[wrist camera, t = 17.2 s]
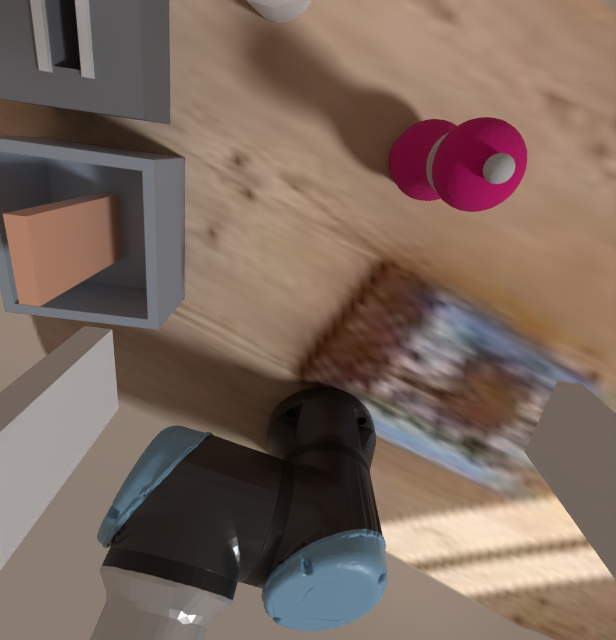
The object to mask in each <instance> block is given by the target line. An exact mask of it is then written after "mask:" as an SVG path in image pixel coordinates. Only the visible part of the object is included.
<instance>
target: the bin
mask: <svg viewBox="0 0 616 640" xmlns="http://www.w3.org/2000/svg"><path fill="white" fill-rule="evenodd" d="M102 192H106V193H114V194H119V201H120V218H121V234H122V250H123V258H122V259H120V260H118V261H116V262H115V263H113V264H111V265H110V266H108V267H106V268H105V269H103V270H101V271H99V272H98V273H96V274H94V275H93V276H91V277H89V278H87V279H86V280H84V281H82V282H81V283H79V284H77V285H76V286H74V287H72V288H70V289H69V290H67V291H65V292H64V293H62V294H60V295H59V296H57V297H55V298H53V299H52V300H50V301H48V302H47V303H45V304H43V305H42V306H32V305H24V304H19V300H18V295H17V289H16V284H15V278H14V273H13V267H12V262H11V256H10V251H9V245H8V240H7V234H6V229H5V223H4V218H3V213H8V212H13V211H18V210H22V209H27V208H32V207H36V206H41V205H46V204H51V203H55V202H60V201H65V200H69V199H74V198H79V197H83V196H88V195H93V194H98V193H102ZM184 251H185V158H183V157H176V156H168V155H161V154H154V153H147V152H140V151H133V150H126V149H119V148H112V147H105V146H97V145H90V144H83V143H76V142H69V141H62V140H55V139H48V138H41V137H20V136H0V288H1V293H2V298H3V303H4V308H5V312H12V313H20V314H28V315H37V316H45V317H54V318H62V319H71V320H79V321H88V322H96V323H105V324H113V325H122V326H130V327H139V328H147V329H156V330H158V329H159V328H160V327H161V326H162V325H163V323H164V322H165V321H166V320H167V319H168V317H169V316H170V315H171V314H172V313H173V311H174V310H175V309H176V308H177V307H178V305H179V304H180V303H181V302H182V301H183V299H184Z"/></svg>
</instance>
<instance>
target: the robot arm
mask: <svg viewBox="0 0 616 640" xmlns="http://www.w3.org/2000/svg"><path fill="white" fill-rule="evenodd" d="M117 410H118V396H117V383H116V371H115V358H114V346H113V333H112V329H107V328H98V327H90V326H84V327H82V328H81V329H80V330H79V331H77V332H76V333H75V334H74V335H72V336H71V337H70V338H69V339H67V340H66V341H65V342H64V343H62V344H61V345H60V346H58V347H57V348H56V349H55V350H53V351H52V352H51V353H50V354H48V355H47V356H46V357H45V358H43V359H42V360H41V361H39V362H38V363H37V364H36V365H35V366H33V367H32V368H31V369H29V370H28V371H27V372H26V373H24V374H23V375H22V376H21V377H19V378H18V379H17V380H16V381H14V382H13V383H12V384H10V385H9V386H8V387H7V388H5V389H4V390H3V391H2V392H0V570H1V569H2V567H3V566H4V565H5V563H6V562H7V560H8V559H9V558H10V556H11V555H12V554H13V552H14V551H15V550H16V548H17V547H18V545H19V544H20V543H21V541H22V540H23V539H24V537H25V536H26V535H27V533H28V532H29V530H30V529H31V528H32V526H33V525H34V524H35V522H36V521H37V520H38V518H39V516H40V515H41V514H42V513H43V511H44V510H45V508H46V507H47V506H48V504H49V503H50V502H51V500H52V499H53V498H54V496H55V495H56V494H57V492H58V491H59V489H60V488H61V487H62V485H63V484H64V483H65V481H66V480H67V478H68V477H69V476H70V474H71V473H72V472H73V470H74V469H75V468H76V466H77V465H78V463H79V462H80V461H81V459H82V458H83V457H84V455H85V454H86V452H87V451H88V450H89V448H90V447H91V445H92V444H93V443H94V441H95V440H96V439H97V437H98V436H99V435H100V433H101V432H102V431H103V429H104V428H105V426H106V425H107V424H108V422H109V421H110V420H111V418H112V417H113V415H114V414H115V413H116V411H117ZM375 445H376V433H375V428H374V424H373V420H372V417H371V415H370V413H369V411H368V410H367V408H366V407H365V406H364V405H363V404H362V403H361V402H360V401H359V400H358V399H356V398H355V397H353V396H352V395H350V394H348V393H345V392H342V391H339V390H335V389H329V388H314V389H308V390H304V391H301V392H298V393H296V394H293V395H292V396H290V397H288V398H287V399H285V400H284V401H283V402H282V403H281V404H280V405H279V406H278V407H277V408H276V409H275V411H274V412H273V414H272V416H271V418H270V421H269V426H268V433H267V446H268V451H269V454H270V455H269V454H266V453H263V452H260V451H257V450H254V449H251V448H248V447H245V446H242V445H239V444H236V443H234V442H231V441H228V440H225V439H222V438H220V437H217V436H214V435H213V434H212V433H210V432H206V433H204V432H201V431H197V430H193V429H190V428H186V427H183V426H171V427H168V428H166V429H164V430H163V431H161V432H160V433H159V434H158V435H157V436H156V437H155V438H154V439H153V440H152V442H151V443H150V444H149V446H148V447H147V448H146V450H145V451H144V453H143V454H142V455H141V457H140V458H139V460H138V461H137V463H136V464H135V466H134V467H133V469H132V470H131V472H130V474H129V475H128V477H127V478H126V480H125V481H124V483H123V485H122V487H121V488H120V490H119V492H118V493H117V495H116V497H115V499H114V501H113V505H112V506H111V507H110V509H109V511H108V513H107V515H106V516H105V518H104V519H103V522H102V524H101V526H100V528H99V531H98V535H97V538H98V541H99V542H100V543H101V544H102V546H103V547H106V548H108V547H109V546H111V547H110V549H109V551H108V554H107V556H106V558H105V560H104V562H103V564H102V567H101V569H100V572H101V576H102V579H103V583H104V586H105V589H106V595H107V601H106V604H105V606H104V608H103V611H102V613H101V615H100V617H99V620H98V622H97V624H96V627H95V629H94V632H93V634H92V636H91V638H90V640H203V639H204V636H205V632H206V629H207V626H208V625H209V624H210V622H211V621H212V620H213V619H214V618H216V617H217V616H218V615H219V614H221V613H222V612H223V611H225V610H226V609H227V608H228V607H230V606H231V604H232V601H233V597H234V593H235V590H236V586H237V583H238V582H241V583H245V584H249V585H253V586H255V587H259V588H262V589H263V590H262V600H263V603H264V608H265V610H266V613H267V614H268V615H269V616H270V617H272V618H273V620H274V621H275V622H276V623H277V624H279V625H281V626H283V627H286V628H289V629H293V630H299V631H320V630H328V629H332V628H337V627H340V626H342V625H345V624H348V623H351V622H353V621H355V620H357V619H359V618H360V617H362V616H364V615H365V614H366V613H368V612H369V611H370V610H371V609H372V608H373V607H374V606H375V605H376V604H377V603H378V602H379V600H380V598H381V597H382V595H383V593H384V591H385V588H386V585H387V578H388V577H387V576H388V575H387V564H386V554H385V549H386V544H385V540H384V537H383V536H382V531H381V526H380V521H379V516H378V511H377V506H376V501H375V496H374V491H373V486H372V481H371V476H370V468H371V463H372V459H373V454H374V450H375ZM525 453H526V455H527V456H528V457H529V459H530V460H531V462H532V463H533V464H534V466H535V467H536V469H537V470H538V471H539V473H540V474H541V476H542V477H543V478H544V480H545V481H546V483H547V484H548V485H549V487H550V488H551V490H552V491H553V492H554V494H555V495H556V497H557V498H558V499H559V501H560V502H561V504H562V505H563V506H564V508H565V509H566V511H567V512H568V513H569V515H570V516H571V518H572V519H573V520H574V522H575V523H576V525H577V526H578V528H579V529H580V530H581V532H582V533H583V535H584V536H585V537H586V539H587V540H588V542H589V543H590V544H591V546H592V547H593V549H594V550H595V551H596V553H597V554H598V556H599V557H600V558H601V560H602V561H603V563H604V564H605V565H606V567H607V568H608V570H609V571H610V572H611V574H612V575H613V577H614V578H615V579H616V413H615V412H614V411H612V410H611V409H610V408H609V407H608V406H607V405H605V404H604V403H603V402H602V401H601V400H600V399H598V398H597V397H596V396H595V395H594V394H593V393H591V392H590V391H589V390H588V389H587V388H586V387H585V386H583V385H582V384H577V383H569V382H560V381H557V383H556V385H555V387H554V389H553V392H552V394H551V396H550V398H549V400H548V402H547V405H546V407H545V409H544V411H543V413H542V415H541V418H540V420H539V422H538V424H537V426H536V428H535V431H534V433H533V435H532V437H531V439H530V442H529V444H528V446H527V448H526V450H525Z"/></svg>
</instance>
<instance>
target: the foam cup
mask: <svg viewBox="0 0 616 640" xmlns="http://www.w3.org/2000/svg"><path fill="white" fill-rule="evenodd" d="M246 1H247V2H248V3H249V4H250V5H251V6H252V7H253V8H254V9H255V10H256V11H257V12H258V13H260V14H261V15H262V16H263V17H264V18H265V19H266V20H268V21H272V22H276V23H280V24H283V23H287V22H290V21H293V20H296V19H297V18H298V17H299V16H300V15H301V14H302V13H303V12H304V11H305V10H306V9H307V8H308V7H309V5H310V2H311V0H246Z"/></svg>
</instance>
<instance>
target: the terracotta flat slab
mask: <svg viewBox="0 0 616 640" xmlns="http://www.w3.org/2000/svg"><path fill="white" fill-rule="evenodd" d="M3 218H4V223H5V229H6V234H7V240H8V245H9V251H10V256H11V262H12V267H13V273H14V278H15V284H16V289H17V295H18V300H19V304H24V305H32V306H42V305H43V304H45V303H47V302H48V301H50V300H52V299H53V298H55V297H57V296H59V295H60V294H62V293H64V292H65V291H67V290H69V289H70V288H72V287H74V286H76V285H77V284H79V283H81V282H82V281H84V280H86V279H87V278H89V277H91V276H93V275H94V274H96V273H98V272H99V271H101V270H103V269H105V268H106V267H108V266H110V265H111V264H113V263H115V262H116V261H118V260H120V259H122V258H123V250H122V234H121V218H120V201H119V194H114V193H106V192H102V193H98V194H93V195H88V196H83V197H79V198H74V199H69V200H65V201H60V202H55V203H51V204H46V205H41V206H36V207H32V208H27V209H22V210H18V211H13V212H8V213H3Z"/></svg>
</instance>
